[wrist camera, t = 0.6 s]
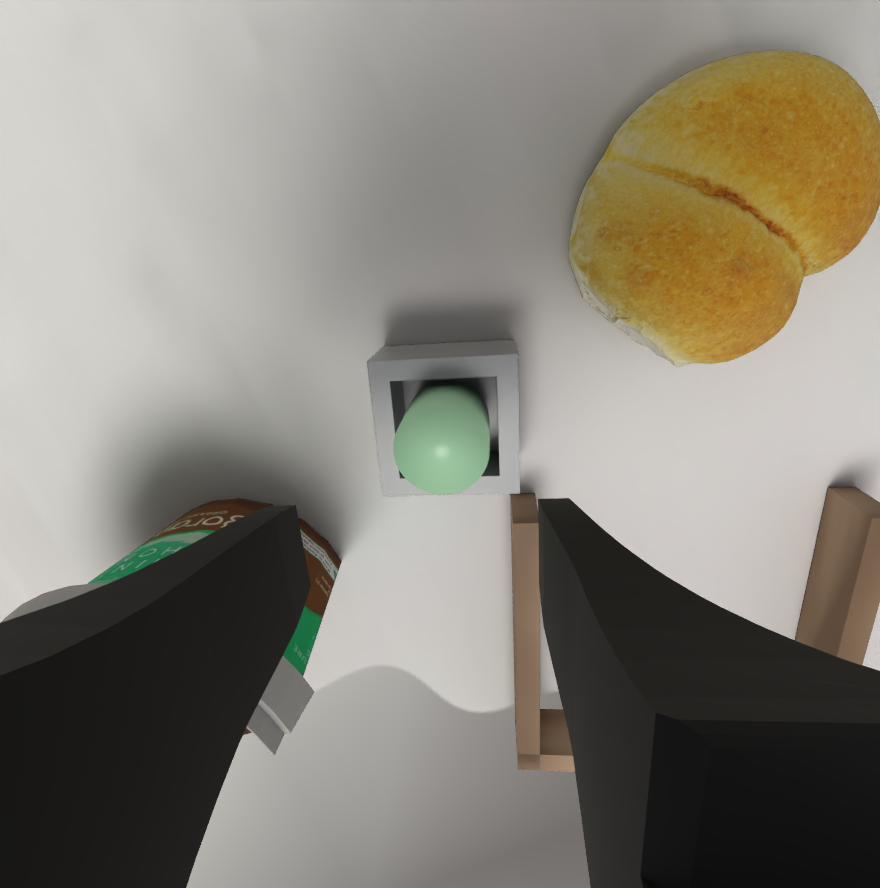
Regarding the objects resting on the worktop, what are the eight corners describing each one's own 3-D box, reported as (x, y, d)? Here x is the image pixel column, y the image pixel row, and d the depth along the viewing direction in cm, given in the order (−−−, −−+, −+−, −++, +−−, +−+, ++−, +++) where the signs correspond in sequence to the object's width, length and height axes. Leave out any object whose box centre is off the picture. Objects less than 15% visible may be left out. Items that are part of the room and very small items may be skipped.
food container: (305, 433, 22) (165, 572, 12) (370, 551, 23) (291, 751, 14) (83, 525, 24) (-169, 697, 15) (156, 625, 26) (-29, 833, 17)
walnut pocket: (855, 487, 20) (903, 517, 18) (797, 731, 25) (829, 781, 22) (510, 494, 22) (513, 523, 19) (515, 723, 26) (517, 769, 24)
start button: (488, 378, 18) (487, 402, 15) (490, 457, 19) (491, 493, 16) (403, 382, 18) (388, 406, 15) (411, 460, 19) (397, 495, 17)
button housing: (513, 339, 19) (517, 354, 17) (515, 461, 21) (519, 493, 18) (383, 346, 20) (366, 361, 17) (396, 464, 22) (382, 496, 19)
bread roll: (898, 167, 17) (1017, 144, 13) (697, 387, 20) (746, 420, 16) (704, -1, 16) (773, -80, 12) (524, 260, 19) (532, 262, 15)
